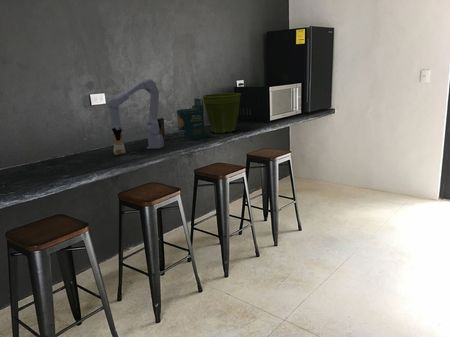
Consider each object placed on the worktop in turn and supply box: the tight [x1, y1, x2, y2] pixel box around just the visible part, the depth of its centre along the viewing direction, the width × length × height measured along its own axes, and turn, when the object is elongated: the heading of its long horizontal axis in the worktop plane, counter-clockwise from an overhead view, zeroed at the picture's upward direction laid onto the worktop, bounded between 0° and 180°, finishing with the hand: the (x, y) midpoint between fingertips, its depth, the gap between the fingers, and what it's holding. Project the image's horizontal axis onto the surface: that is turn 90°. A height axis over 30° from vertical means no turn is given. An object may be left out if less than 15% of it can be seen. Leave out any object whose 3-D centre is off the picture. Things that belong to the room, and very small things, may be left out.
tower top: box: [113, 143, 125, 150], centre depth 238 cm, size 6×6×3 cm
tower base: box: [112, 147, 127, 155], centre depth 239 cm, size 6×6×3 cm
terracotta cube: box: [113, 133, 124, 144], centre depth 237 cm, size 4×4×5 cm
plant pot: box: [202, 92, 242, 134], centre depth 294 cm, size 30×30×29 cm
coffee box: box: [157, 117, 166, 142], centre depth 271 cm, size 9×6×16 cm
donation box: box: [176, 97, 206, 142], centre depth 272 cm, size 16×16×28 cm
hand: (117, 139), depth 237 cm, fingers closed on terracotta cube, 4 cm apart
